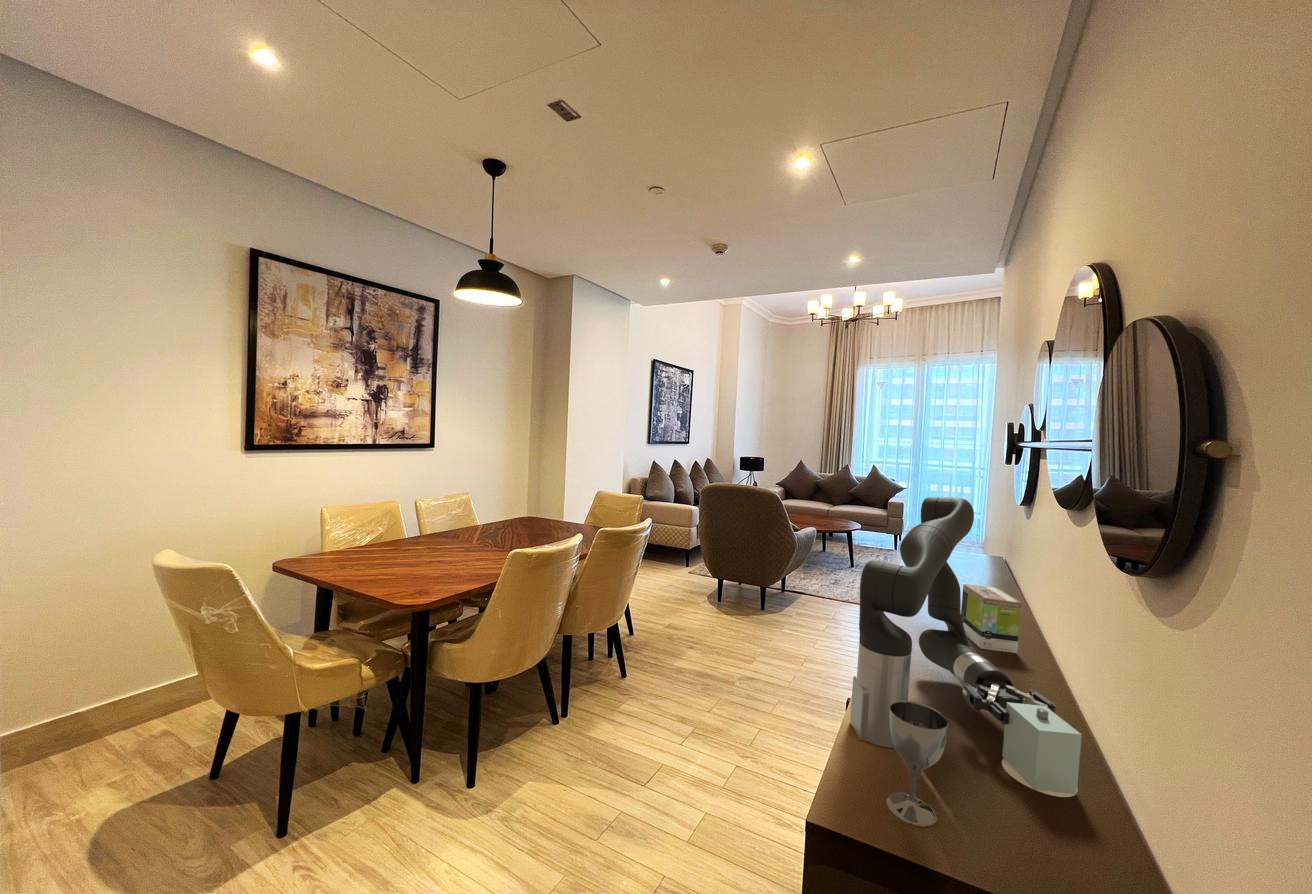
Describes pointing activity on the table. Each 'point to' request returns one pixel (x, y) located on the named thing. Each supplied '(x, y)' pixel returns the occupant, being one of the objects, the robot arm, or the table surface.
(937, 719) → the wine glass
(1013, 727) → the cloche
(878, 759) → the table surface
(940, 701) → the table surface
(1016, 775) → the plate
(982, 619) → the tea box
